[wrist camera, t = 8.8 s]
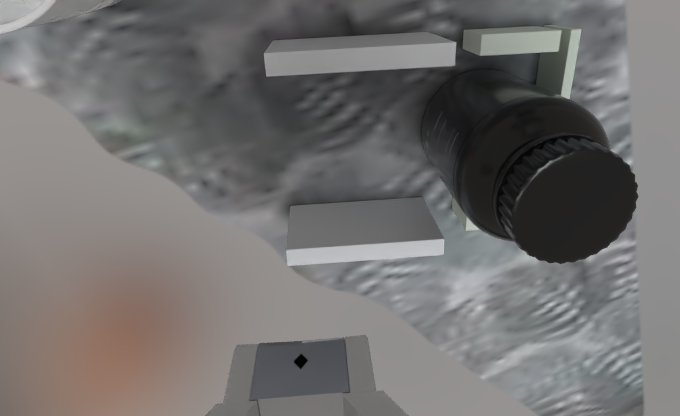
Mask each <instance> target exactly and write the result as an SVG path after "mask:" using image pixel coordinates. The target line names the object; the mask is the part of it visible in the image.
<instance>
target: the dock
mask: <svg viewBox="0 0 680 416" xmlns="http://www.w3.org/2000/svg"><path fill="white" fill-rule="evenodd" d="M580 35H581V29H577V28H570V27H563V26H557V25H544V27H539V26H524V27H506V28H488V29H470V30H464V32H463V48H462V49H464V50H466V51H469V52H472V53H474V54H477V55H479V56H488V55H505V54H523V53H540V57H539V65H538V72H537V79H536V85H537V86H539V87H541V88H544V89H546V90H549V91H551V92H553V93H556V94H558V95H560V96H563V97H565V98H567V99H570V93H571V88H572V82H573V76H574V70H575V64H576V58H577V52H578V47H579V41H580ZM452 210H453V212H454V213H455V215H456V216H457V218H458V219H459V221H460V223H461V224H462V226H463V227H464V229H465V230H466V231H468V230H480V229H479V228H477V227H476V226H475V225H474V224H473V223H472V222H471V221H470V220H469V219H468V218H467V216H466V215H465V214H464V212H463V211H462V210H461V208H460V207H459V205H458V204H457V202H456V201H455V199H454V197H453V198H452Z"/></svg>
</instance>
